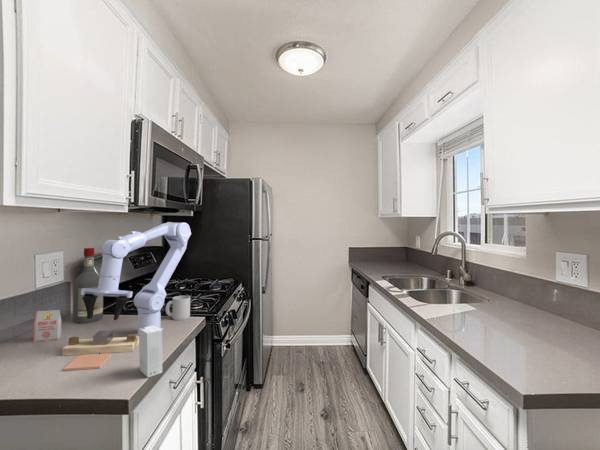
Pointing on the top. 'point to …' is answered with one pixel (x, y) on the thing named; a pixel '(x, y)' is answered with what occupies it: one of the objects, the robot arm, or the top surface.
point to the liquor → (86, 281)
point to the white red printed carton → (47, 325)
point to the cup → (179, 308)
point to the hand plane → (87, 347)
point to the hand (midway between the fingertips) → (102, 318)
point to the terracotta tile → (88, 361)
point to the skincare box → (150, 350)
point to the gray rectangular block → (103, 337)
